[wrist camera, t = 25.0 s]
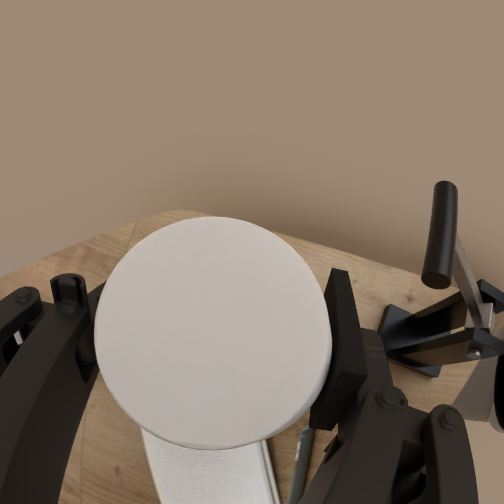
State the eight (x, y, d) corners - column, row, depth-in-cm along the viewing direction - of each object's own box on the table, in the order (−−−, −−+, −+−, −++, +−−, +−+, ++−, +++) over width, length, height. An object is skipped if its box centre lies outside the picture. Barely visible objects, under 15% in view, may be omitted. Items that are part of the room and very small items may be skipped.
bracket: (369, 352, 28) (445, 333, 14) (385, 306, 30) (458, 258, 16) (432, 377, 25) (518, 367, 12) (444, 333, 28) (526, 303, 14)
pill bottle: (312, 322, 15) (395, 231, 5) (279, 422, 13) (311, 519, 3) (212, 290, 16) (141, 165, 6) (176, 385, 14) (38, 393, 4)
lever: (408, 274, 11) (453, 271, 9) (423, 185, 13) (458, 175, 11) (464, 360, 16) (487, 361, 14) (476, 297, 18) (497, 296, 16)
